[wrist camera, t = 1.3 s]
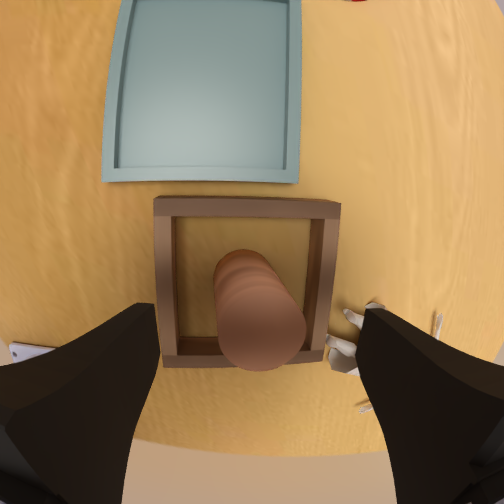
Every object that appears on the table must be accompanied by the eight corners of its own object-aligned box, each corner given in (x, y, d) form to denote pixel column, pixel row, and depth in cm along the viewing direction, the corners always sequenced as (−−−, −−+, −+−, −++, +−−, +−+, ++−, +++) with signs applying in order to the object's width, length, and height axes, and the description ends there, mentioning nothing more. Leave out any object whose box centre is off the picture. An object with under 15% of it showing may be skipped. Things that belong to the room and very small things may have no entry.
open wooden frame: (311, 344, 23) (322, 361, 21) (167, 348, 22) (163, 367, 19) (326, 199, 21) (341, 203, 18) (160, 195, 19) (153, 198, 17)
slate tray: (291, 182, 20) (298, 183, 19) (108, 181, 19) (101, 182, 17) (295, 0, 17) (300, -9, 16) (129, -3, 15) (124, -13, 14)
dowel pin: (270, 304, 22) (301, 368, 14) (213, 305, 22) (218, 372, 14) (273, 249, 21) (310, 292, 14) (213, 249, 21) (217, 294, 13)
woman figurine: (405, 267, 18) (485, 355, 24) (370, 248, 22) (459, 336, 28) (293, 403, 20) (412, 441, 25) (276, 367, 24) (393, 416, 29)
